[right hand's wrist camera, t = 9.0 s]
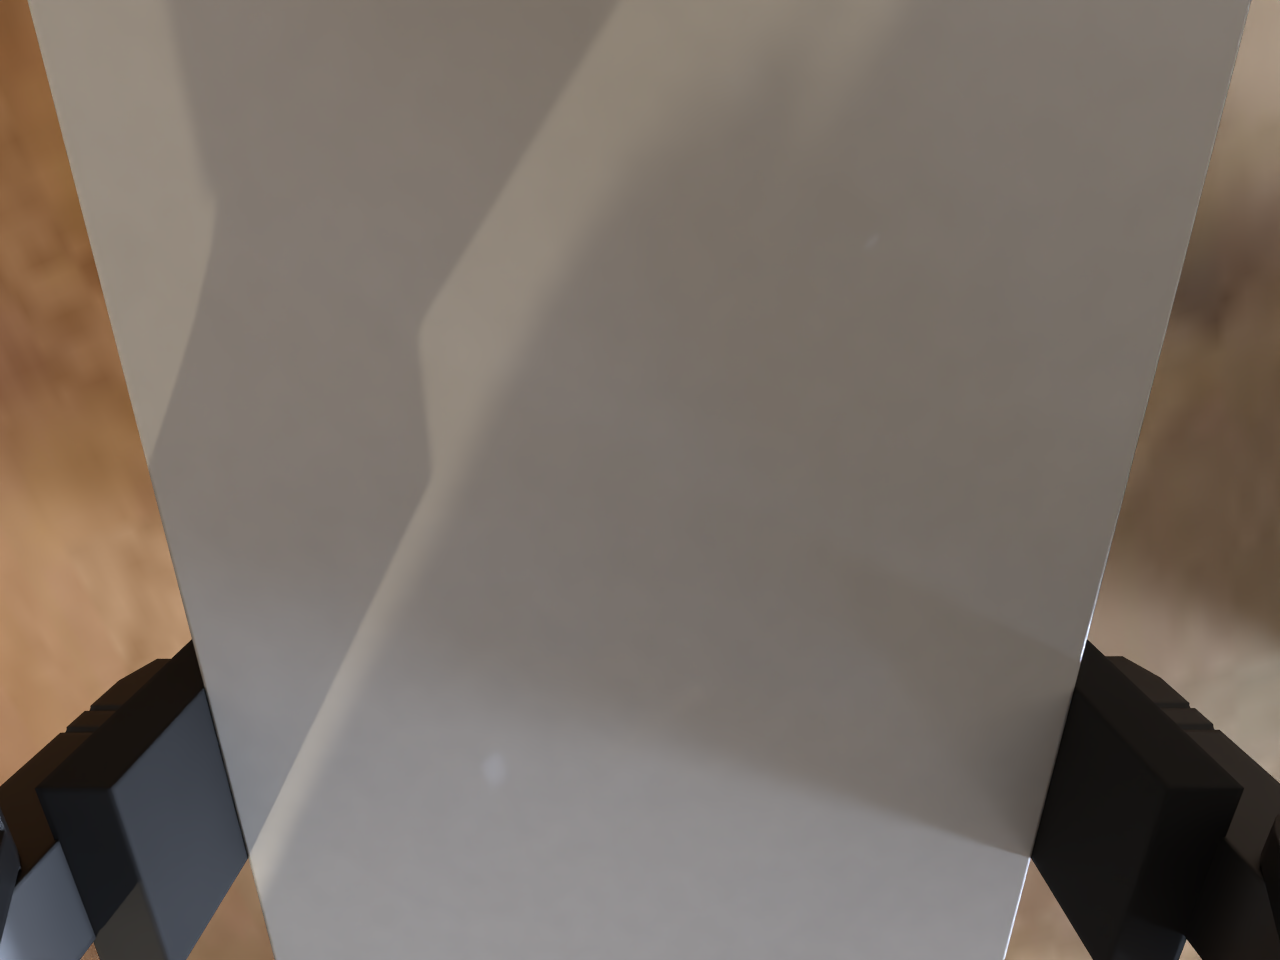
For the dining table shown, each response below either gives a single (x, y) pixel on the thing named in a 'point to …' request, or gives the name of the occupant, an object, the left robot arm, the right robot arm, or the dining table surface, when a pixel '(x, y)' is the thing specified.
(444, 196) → the cabinet
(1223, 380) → the dining table surface
